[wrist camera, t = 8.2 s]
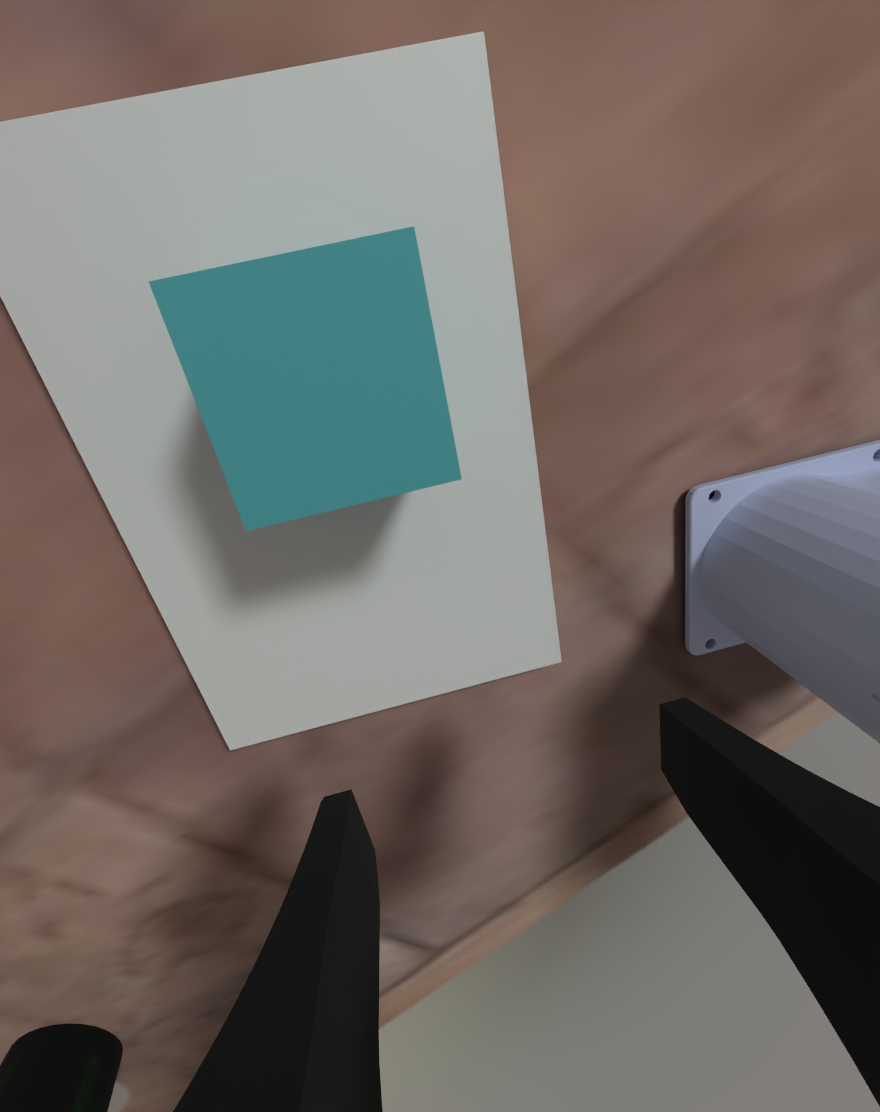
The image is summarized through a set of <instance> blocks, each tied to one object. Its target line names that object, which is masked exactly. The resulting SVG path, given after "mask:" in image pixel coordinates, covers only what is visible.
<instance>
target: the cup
mask: <svg viewBox="0 0 880 1112" xmlns="http://www.w3.org/2000/svg"><path fill="white" fill-rule="evenodd" d="M122 1050H123V1048H122V1045H121V1042H120V1041H119V1040H118V1039H117V1038H116V1037H115V1036H114V1035H113V1034H111V1033H109V1032H108V1031H106V1030H103V1029H100V1028H97V1027H93V1026H88V1025H81V1024H63V1025H53V1026H48V1027H44V1028H40V1029H37V1030H34V1031H32V1032H29V1033H27V1034H26V1035H24V1036H22V1037H21V1038H19V1039H18V1040H17V1041H16V1042H15V1043H14V1044H13V1045H12V1046H11V1048H10V1050H9V1052H8V1053H7V1055H6V1057H5V1058H4V1060H3V1062H2V1064H1V1065H0V1112H107V1111H108V1107H109V1103H110V1099H111V1095H112V1092H113V1088H114V1084H115V1080H116V1076H117V1072H118V1069H119V1065H120V1061H121V1057H122Z"/></svg>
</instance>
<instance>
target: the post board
mask: <svg viewBox="0 0 880 1112" xmlns="http://www.w3.org/2000/svg"><path fill="white" fill-rule="evenodd" d="M413 226H414V228H415V234H416V239H417V244H418V249H419V255H420V260H421V265H422V271H423V276H424V281H425V287H426V292H427V297H428V302H429V308H430V313H431V318H432V324H433V329H434V334H435V340H436V345H437V350H438V356H439V361H440V366H441V371H442V377H443V382H444V387H445V393H446V398H447V403H448V409H449V414H450V419H451V425H452V430H453V435H454V440H455V446H456V451H457V456H458V462H459V467H460V472H461V478H462V479H461V480H457V481H453V482H449V483H444V484H440V485H436V486H432V487H428V488H424V489H419V490H415V491H411V492H407V493H403V494H399V495H394V496H390V497H386V498H382V499H378V500H374V501H370V502H365V503H361V504H357V505H353V506H349V507H345V508H340V509H336V510H332V511H328V512H324V513H320V514H315V515H311V516H307V517H303V518H299V519H295V520H291V521H286V522H282V523H278V524H274V525H270V526H266V527H261V528H257V529H253V530H249V531H246V530H245V527H244V525H243V522H242V520H241V517H240V515H239V512H238V509H237V507H236V504H235V502H234V499H233V497H232V494H231V492H230V489H229V486H228V484H227V481H226V479H225V476H224V474H223V471H222V468H221V466H220V463H219V461H218V458H217V456H216V453H215V451H214V448H213V445H212V443H211V440H210V438H209V435H208V433H207V430H206V428H205V425H204V422H203V420H202V417H201V415H200V412H199V410H198V407H197V405H196V402H195V399H194V397H193V394H192V392H191V389H190V387H189V384H188V382H187V379H186V376H185V374H184V371H183V369H182V366H181V364H180V361H179V358H178V356H177V353H176V351H175V348H174V346H173V343H172V341H171V338H170V335H169V333H168V330H167V328H166V325H165V323H164V320H163V318H162V315H161V312H160V310H159V307H158V305H157V302H156V300H155V297H154V295H153V292H152V289H151V287H150V284H149V281H153V280H158V279H163V278H168V277H173V276H177V275H182V274H187V273H192V272H197V271H201V270H206V269H211V268H216V267H221V266H225V265H230V264H235V263H240V262H245V261H249V260H254V259H259V258H264V257H269V256H273V255H278V254H283V253H288V252H293V251H297V250H302V249H307V248H312V247H317V246H321V245H326V244H331V243H336V242H341V241H346V240H350V239H355V238H360V237H365V236H370V235H374V234H379V233H384V232H389V231H394V230H398V229H403V228H408V227H413ZM0 297H1V299H2V301H3V303H4V305H5V307H6V309H7V311H8V313H9V315H10V317H11V319H12V321H13V323H14V325H15V327H16V328H17V330H18V332H19V334H20V336H21V338H22V340H23V342H24V344H25V346H26V348H27V350H28V352H29V354H30V356H31V358H32V360H33V362H34V364H35V366H36V368H37V370H38V372H39V374H40V376H41V378H42V380H43V382H44V384H45V386H46V388H47V390H48V392H49V394H50V396H51V398H52V400H53V402H54V404H55V406H56V408H57V410H58V411H59V413H60V415H61V417H62V419H63V421H64V423H65V425H66V427H67V429H68V431H69V433H70V435H71V437H72V439H73V441H74V443H75V445H76V447H77V449H78V451H79V453H80V455H81V457H82V459H83V461H84V463H85V465H86V467H87V469H88V471H89V473H90V475H91V477H92V479H93V481H94V483H95V485H96V487H97V489H98V491H99V492H100V494H101V496H102V498H103V500H104V502H105V504H106V506H107V508H108V510H109V512H110V514H111V516H112V518H113V520H114V522H115V524H116V526H117V528H118V530H119V532H120V534H121V536H122V538H123V540H124V542H125V544H126V546H127V548H128V550H129V552H130V554H131V556H132V558H133V560H134V562H135V564H136V566H137V568H138V570H139V572H140V574H141V575H142V577H143V579H144V581H145V583H146V585H147V587H148V589H149V591H150V593H151V595H152V597H153V599H154V601H155V603H156V605H157V607H158V609H159V611H160V613H161V615H162V617H163V619H164V621H165V623H166V625H167V627H168V629H169V631H170V633H171V635H172V637H173V639H174V641H175V643H176V645H177V647H178V649H179V651H180V653H181V655H182V657H183V658H184V660H185V662H186V664H187V666H188V668H189V670H190V672H191V674H192V676H193V678H194V680H195V682H196V684H197V686H198V688H199V690H200V692H201V694H202V696H203V698H204V700H205V702H206V704H207V706H208V708H209V710H210V712H211V714H212V716H213V718H214V720H215V722H216V724H217V726H218V728H219V730H220V732H221V734H222V736H223V738H224V740H225V741H226V743H227V745H228V747H229V749H230V750H234V749H237V748H241V747H245V746H249V745H252V744H256V743H260V742H264V741H267V740H271V739H275V738H279V737H282V736H286V735H290V734H294V733H297V732H301V731H305V730H309V729H312V728H316V727H320V726H324V725H327V724H331V723H335V722H339V721H342V720H346V719H350V718H353V717H357V716H361V715H365V714H368V713H372V712H376V711H380V710H383V709H387V708H391V707H395V706H398V705H402V704H406V703H410V702H413V701H417V700H421V699H425V698H428V697H432V696H436V695H440V694H443V693H447V692H451V691H455V690H458V689H462V688H466V687H470V686H473V685H477V684H481V683H484V682H488V681H492V680H496V679H499V678H503V677H507V676H511V675H514V674H518V673H522V672H526V671H529V670H533V669H537V668H541V667H544V666H548V665H552V664H556V663H559V662H561V653H560V645H559V637H558V629H557V621H556V613H555V605H554V597H553V589H552V580H551V572H550V564H549V556H548V548H547V540H546V532H545V524H544V516H543V508H542V499H541V491H540V483H539V475H538V467H537V459H536V451H535V443H534V435H533V426H532V418H531V410H530V402H529V394H528V386H527V378H526V370H525V362H524V354H523V345H522V337H521V329H520V321H519V313H518V305H517V297H516V289H515V281H514V272H513V264H512V256H511V248H510V240H509V232H508V224H507V216H506V208H505V200H504V191H503V183H502V175H501V167H500V159H499V151H498V143H497V135H496V127H495V118H494V110H493V102H492V94H491V86H490V78H489V70H488V62H487V54H486V46H485V37H484V31H483V32H478V33H472V34H467V35H462V36H456V37H451V38H446V39H440V40H435V41H430V42H424V43H419V44H414V45H408V46H403V47H398V48H392V49H387V50H382V51H376V52H371V53H366V54H360V55H355V56H350V57H344V58H339V59H334V60H328V61H323V62H318V63H312V64H307V65H302V66H296V67H291V68H286V69H280V70H275V71H270V72H264V73H259V74H254V75H248V76H243V77H238V78H232V79H227V80H222V81H216V82H211V83H206V84H200V85H195V86H189V87H184V88H179V89H173V90H168V91H163V92H157V93H152V94H147V95H141V96H136V97H131V98H125V99H120V100H115V101H109V102H104V103H99V104H93V105H88V106H83V107H77V108H72V109H67V110H61V111H56V112H51V113H45V114H40V115H35V116H29V117H24V118H19V119H13V120H8V121H3V122H0Z"/></svg>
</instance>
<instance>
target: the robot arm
mask: <svg viewBox="0 0 880 1112" xmlns="http://www.w3.org/2000/svg"><path fill="white" fill-rule="evenodd" d="M875 452H876V453H875ZM874 453H875V455H874ZM873 456H874V457H873ZM712 491H714V492H715V493H714V496H713V497H712V498H711V499H710V500H709V499H708V498H709V495H710V493H711V492H712ZM708 640H710V641H709V642H708V643H706V642H707V641H708ZM743 643H747V644H749V645H750V646H751V647H753V648H754V649H755V650H757V651H758V652H759V653H761V654H762V655H763V656H765V657H766V658H767V659H769V660H770V661H771V662H773V663H774V664H775V665H777V666H778V667H779V668H781V669H782V670H783V671H785V672H786V673H787V674H788V675H790V676H791V677H792V678H794V679H795V680H796V681H798V682H799V683H800V684H802V685H803V686H804V687H806V688H807V689H808V690H810V691H811V692H812V693H814V694H815V695H816V696H818V697H819V698H820V699H822V700H823V701H824V702H826V703H827V704H828V705H830V706H831V707H832V708H834V709H835V710H836V711H838V712H839V713H840V714H841V715H843V716H844V717H846V718H847V719H848V720H850V721H851V722H852V723H853V724H855V725H856V726H858V727H859V728H860V729H861V730H863V731H864V732H866V733H867V734H868V735H869V736H871V737H872V738H873V739H875V740H876V741H878V742H879V743H880V440H877V441H873V442H869V443H865V444H861V445H857V446H853V447H849V448H845V449H841V450H837V451H833V452H829V453H825V454H821V455H817V456H813V457H809V458H805V459H801V460H796V461H792V462H788V463H784V464H780V465H776V466H772V467H768V468H764V469H760V470H756V471H752V472H748V473H744V474H740V475H736V476H732V477H728V478H724V479H720V480H716V481H712V482H708V483H704V484H700V485H697V486H695V487H693V488H692V489H690V490H689V492H688V493H687V495H686V500H685V647H686V649H687V650H688V651H689V652H690V653H691V654H692V655H695V656H696V655H702V654H706V653H709V652H713V651H717V650H720V649H724V648H728V647H731V646H735V645H739V644H743ZM660 737H661V769H662V771H663V773H664V775H665V777H666V778H667V780H668V782H669V784H670V785H671V787H672V789H673V791H674V792H675V794H676V796H677V797H678V799H679V801H680V802H681V804H682V806H683V807H684V809H685V811H686V812H687V814H688V815H689V817H690V818H691V819H692V820H693V822H694V824H695V825H696V826H697V828H698V829H699V830H700V832H701V833H702V835H703V836H704V837H705V839H706V840H707V841H708V843H709V844H710V845H711V847H712V848H713V850H714V851H715V852H716V854H717V855H718V856H719V857H720V859H721V860H722V862H723V863H724V864H725V866H726V867H727V868H728V870H729V871H730V872H731V874H732V875H733V876H734V878H735V879H736V881H737V882H738V883H739V884H740V886H741V887H742V889H743V890H744V891H745V893H746V894H747V895H748V897H749V898H750V899H751V901H752V902H753V903H754V905H755V906H756V907H757V909H758V910H759V911H760V913H761V914H762V915H763V917H764V919H765V920H766V921H767V923H768V924H769V926H770V927H771V929H772V930H773V932H774V933H775V934H776V936H777V937H778V939H779V940H780V942H781V944H782V945H783V947H784V948H785V950H786V952H787V953H788V955H789V956H790V958H791V960H792V961H793V963H794V964H795V966H796V967H797V969H798V971H799V972H800V974H801V975H802V977H803V978H804V980H805V982H806V983H807V985H808V987H809V988H810V989H811V991H812V993H813V995H814V996H815V998H816V1000H817V1001H818V1003H819V1005H820V1006H821V1008H822V1009H823V1011H824V1013H825V1014H826V1016H827V1018H828V1019H829V1021H830V1023H831V1024H832V1026H833V1028H834V1029H835V1031H836V1033H837V1034H838V1036H839V1038H840V1039H841V1041H842V1043H843V1044H844V1046H845V1048H846V1049H847V1051H848V1053H849V1054H850V1056H851V1058H852V1059H853V1061H854V1063H855V1064H856V1066H857V1068H858V1070H859V1071H860V1073H861V1075H862V1076H863V1078H864V1080H865V1082H866V1083H867V1085H868V1087H869V1089H870V1090H871V1092H872V1094H873V1096H874V1097H875V1099H876V1101H877V1103H878V1104H879V1106H880V807H879V806H876V805H874V804H872V803H870V802H868V801H866V800H864V799H862V798H859V797H858V796H856V795H854V794H852V793H850V792H848V791H846V790H844V789H842V788H840V787H838V786H836V785H834V784H832V783H831V782H828V781H827V780H825V779H823V778H821V777H819V776H817V775H815V774H813V773H812V772H810V771H808V770H806V769H804V768H803V767H801V766H799V765H797V764H795V763H793V762H792V761H790V760H788V759H786V758H785V757H783V756H781V755H779V754H778V753H776V752H774V751H773V750H771V749H769V748H767V747H766V746H764V745H762V744H760V743H759V742H757V741H755V740H754V739H752V738H750V737H749V736H747V735H745V734H744V733H742V732H740V731H739V730H737V729H735V728H734V727H732V726H731V725H729V724H727V723H726V722H724V721H722V720H721V719H719V718H717V717H716V716H714V715H713V714H711V713H709V712H708V711H706V710H704V709H703V708H701V707H700V706H698V705H696V704H695V703H693V702H691V701H690V700H688V699H686V698H681V699H678V700H674V701H671V702H667V703H663V704H660ZM379 932H380V900H379V888H378V876H377V866H376V855H375V849H374V846H373V844H372V841H371V839H370V836H369V834H368V831H367V828H366V826H365V823H364V821H363V818H362V815H361V813H360V810H359V808H358V805H357V803H356V800H355V797H354V795H353V792H352V790H348V791H344V792H341V793H337V794H333V795H330V796H326V797H324V798H323V800H322V801H321V803H320V806H319V809H318V812H317V815H316V818H315V821H314V824H313V827H312V830H311V833H310V836H309V838H308V841H307V844H306V846H305V849H304V852H303V854H302V857H301V860H300V862H299V865H298V867H297V870H296V872H295V875H294V877H293V880H292V882H291V885H290V887H289V889H288V892H287V894H286V897H285V899H284V902H283V904H282V906H281V909H280V911H279V913H278V916H277V918H276V920H275V922H274V924H273V926H272V929H271V931H270V933H269V935H268V937H267V940H266V942H265V944H264V946H263V948H262V950H261V953H260V955H259V957H258V959H257V961H256V963H255V965H254V967H253V969H252V971H251V973H250V975H249V977H248V979H247V981H246V983H245V985H244V987H243V989H242V991H241V993H240V995H239V997H238V999H237V1001H236V1003H235V1004H234V1006H233V1008H232V1010H231V1012H230V1014H229V1016H228V1018H227V1020H226V1021H225V1023H224V1025H223V1027H222V1029H221V1031H220V1032H219V1034H218V1036H217V1038H216V1039H215V1041H214V1043H213V1045H212V1046H211V1048H210V1050H209V1052H208V1053H207V1055H206V1057H205V1059H204V1060H203V1062H202V1064H201V1066H200V1067H199V1069H198V1071H197V1073H196V1074H195V1076H194V1078H193V1079H192V1081H191V1083H190V1085H189V1086H188V1088H187V1090H186V1091H185V1093H184V1095H183V1096H182V1098H181V1100H180V1101H179V1103H178V1104H177V1106H176V1108H175V1109H174V1111H173V1112H382V1099H381V1083H380V1068H379V1036H378V1035H379V1032H378V1030H379Z"/></svg>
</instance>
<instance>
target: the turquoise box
mask: <svg viewBox="0 0 880 1112" xmlns="http://www.w3.org/2000/svg"><path fill="white" fill-rule="evenodd" d="M149 284H150V287H151V289H152V292H153V295H154V297H155V300H156V302H157V305H158V307H159V310H160V312H161V315H162V318H163V320H164V323H165V325H166V328H167V330H168V333H169V335H170V338H171V341H172V343H173V346H174V348H175V351H176V353H177V356H178V358H179V361H180V364H181V366H182V369H183V371H184V374H185V376H186V379H187V382H188V384H189V387H190V389H191V392H192V394H193V397H194V399H195V402H196V405H197V407H198V410H199V412H200V415H201V417H202V420H203V422H204V425H205V428H206V430H207V433H208V435H209V438H210V440H211V443H212V445H213V448H214V451H215V453H216V456H217V458H218V461H219V463H220V466H221V468H222V471H223V474H224V476H225V479H226V481H227V484H228V486H229V489H230V492H231V494H232V497H233V499H234V502H235V504H236V507H237V509H238V512H239V515H240V517H241V520H242V522H243V525H244V527H245V530H246V531H249V530H253V529H257V528H261V527H266V526H270V525H274V524H278V523H282V522H286V521H291V520H295V519H299V518H303V517H307V516H311V515H315V514H320V513H324V512H328V511H332V510H336V509H340V508H345V507H349V506H353V505H357V504H361V503H365V502H370V501H374V500H378V499H382V498H386V497H390V496H394V495H399V494H403V493H407V492H411V491H415V490H419V489H424V488H428V487H432V486H436V485H440V484H444V483H449V482H453V481H457V480H461V479H462V478H461V472H460V467H459V462H458V456H457V451H456V446H455V440H454V435H453V430H452V425H451V419H450V414H449V409H448V403H447V398H446V393H445V387H444V382H443V377H442V371H441V366H440V361H439V356H438V350H437V345H436V340H435V334H434V329H433V324H432V318H431V313H430V308H429V302H428V297H427V292H426V287H425V281H424V276H423V271H422V265H421V260H420V255H419V249H418V244H417V239H416V234H415V228H414V226H413V227H408V228H403V229H398V230H394V231H389V232H384V233H379V234H374V235H370V236H365V237H360V238H355V239H350V240H346V241H341V242H336V243H331V244H326V245H321V246H317V247H312V248H307V249H302V250H297V251H293V252H288V253H283V254H278V255H273V256H269V257H264V258H259V259H254V260H249V261H245V262H240V263H235V264H230V265H225V266H221V267H216V268H211V269H206V270H201V271H197V272H192V273H187V274H182V275H177V276H173V277H168V278H163V279H158V280H153V281H149Z"/></svg>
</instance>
